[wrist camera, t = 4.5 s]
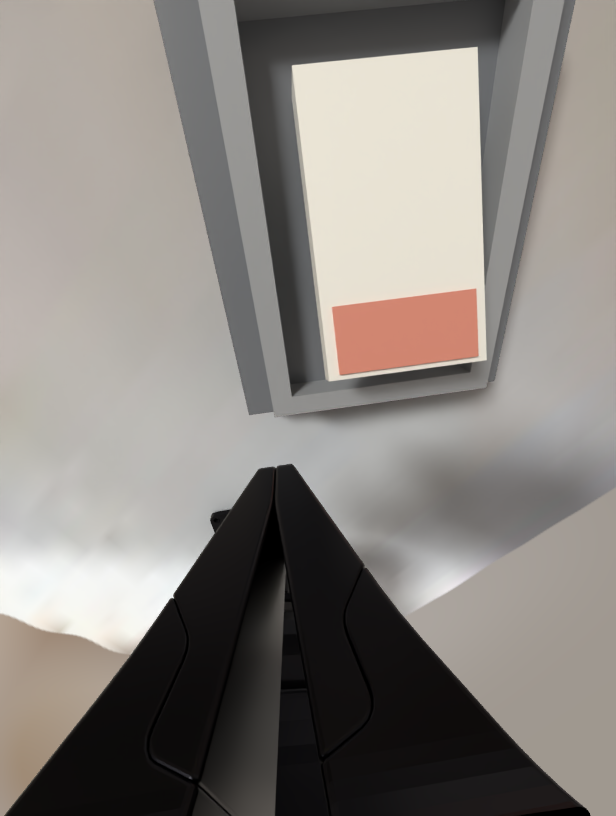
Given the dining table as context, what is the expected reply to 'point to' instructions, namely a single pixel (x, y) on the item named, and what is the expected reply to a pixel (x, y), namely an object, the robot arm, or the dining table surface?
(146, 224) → the dining table surface
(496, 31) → the frame
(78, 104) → the dining table surface
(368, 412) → the dining table surface
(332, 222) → the breaker switch
